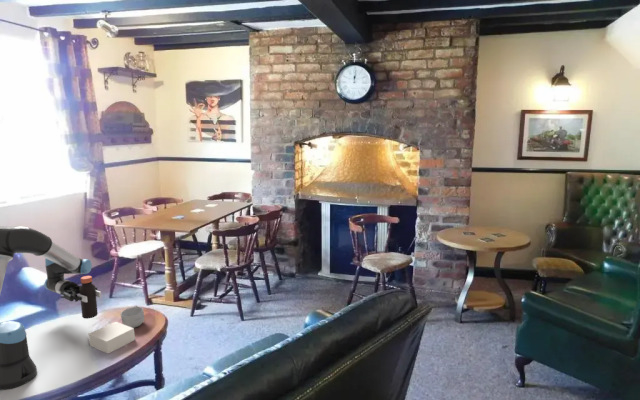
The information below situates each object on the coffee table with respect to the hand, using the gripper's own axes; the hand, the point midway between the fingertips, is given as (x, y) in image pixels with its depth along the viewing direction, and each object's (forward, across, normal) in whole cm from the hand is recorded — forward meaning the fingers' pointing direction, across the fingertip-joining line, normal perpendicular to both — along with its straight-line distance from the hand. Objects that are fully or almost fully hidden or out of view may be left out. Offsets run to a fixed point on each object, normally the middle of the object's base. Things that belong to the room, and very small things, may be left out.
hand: (93, 297), depth 209 cm
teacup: (+7, -16, -20) cm, 26 cm away
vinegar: (-5, 0, -11) cm, 12 cm away
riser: (+14, +1, -20) cm, 24 cm away
